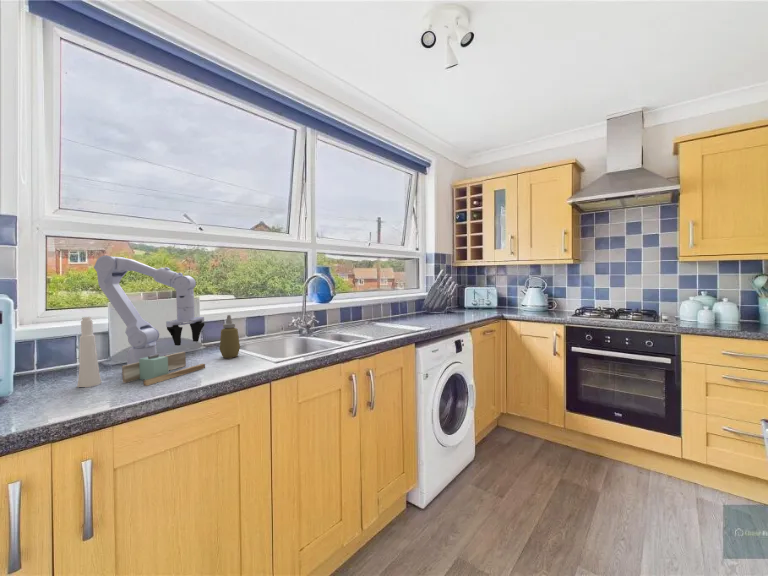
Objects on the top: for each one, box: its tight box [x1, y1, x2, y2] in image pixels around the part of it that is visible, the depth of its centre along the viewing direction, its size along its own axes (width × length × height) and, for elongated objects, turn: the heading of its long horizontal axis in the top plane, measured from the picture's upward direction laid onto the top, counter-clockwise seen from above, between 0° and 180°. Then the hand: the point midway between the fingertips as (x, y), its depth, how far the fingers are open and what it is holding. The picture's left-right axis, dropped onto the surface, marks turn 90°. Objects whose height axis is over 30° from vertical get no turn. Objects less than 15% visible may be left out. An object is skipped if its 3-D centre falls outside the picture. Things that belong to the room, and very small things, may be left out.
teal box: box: [139, 353, 169, 380], centre depth 116 cm, size 7×5×8 cm
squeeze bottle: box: [219, 314, 241, 359], centre depth 145 cm, size 8×8×18 cm
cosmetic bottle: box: [76, 316, 103, 388], centre depth 109 cm, size 6×6×22 cm
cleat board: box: [121, 351, 206, 387], centre depth 120 cm, size 12×22×6 cm, turn 160°
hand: (186, 343), depth 128 cm, fingers open, 7 cm apart
